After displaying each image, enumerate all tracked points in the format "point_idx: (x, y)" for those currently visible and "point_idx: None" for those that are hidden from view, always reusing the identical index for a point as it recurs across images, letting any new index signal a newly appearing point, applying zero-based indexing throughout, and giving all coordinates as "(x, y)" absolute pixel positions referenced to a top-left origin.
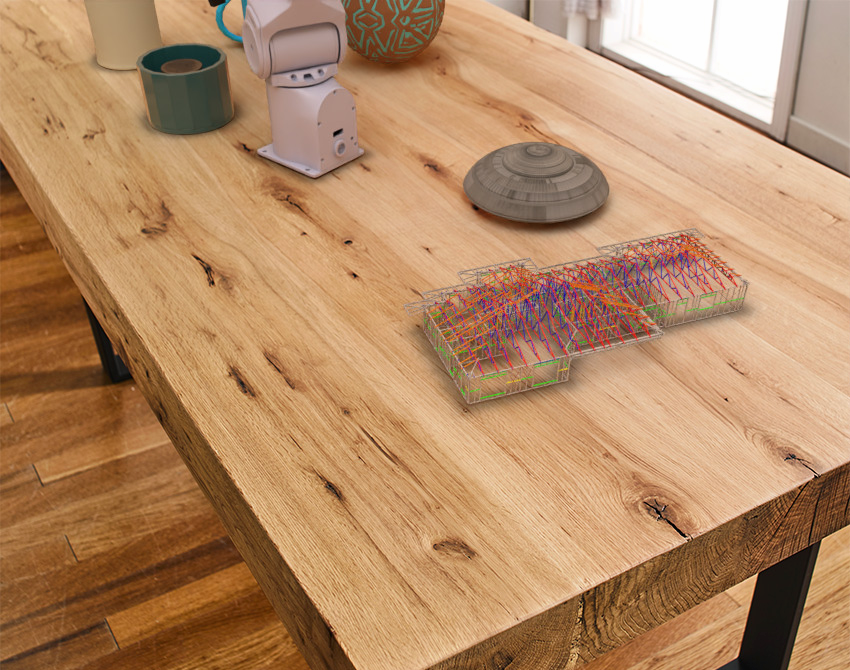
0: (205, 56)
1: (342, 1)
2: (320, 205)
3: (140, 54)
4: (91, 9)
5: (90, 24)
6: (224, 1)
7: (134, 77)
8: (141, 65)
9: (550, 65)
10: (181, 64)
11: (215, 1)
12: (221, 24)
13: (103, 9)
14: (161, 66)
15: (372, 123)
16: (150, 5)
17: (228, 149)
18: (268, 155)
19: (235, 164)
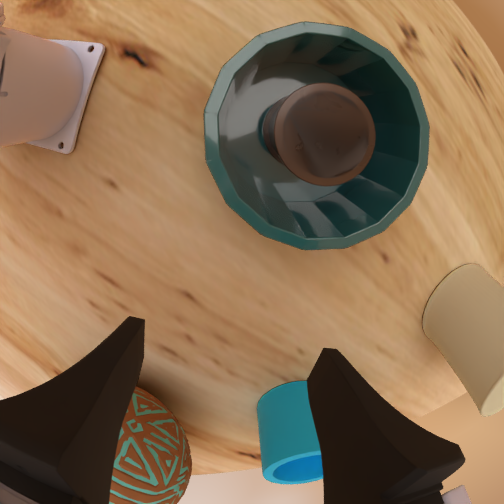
0: (309, 228)
1: (121, 439)
2: (4, 7)
3: (450, 293)
4: None
5: None
6: (308, 380)
7: (443, 251)
8: (399, 72)
9: (14, 393)
10: (333, 144)
11: (323, 363)
12: None
13: None
14: (372, 121)
15: (23, 223)
16: (462, 361)
17: (161, 41)
18: (80, 41)
19: (127, 9)
